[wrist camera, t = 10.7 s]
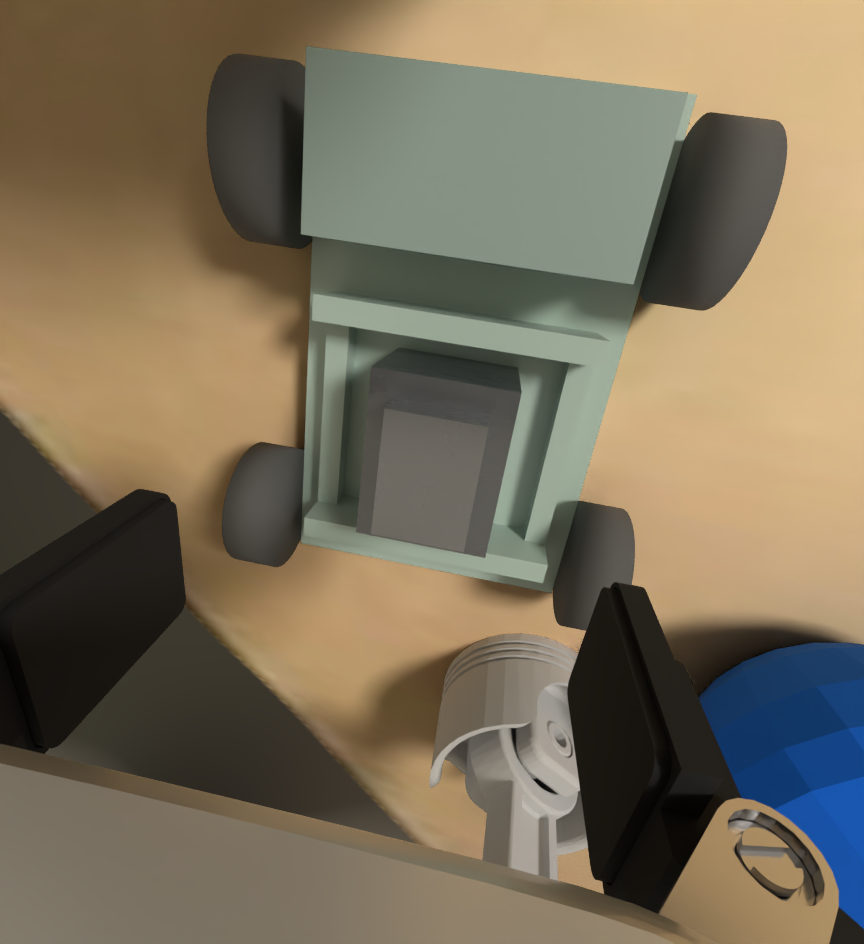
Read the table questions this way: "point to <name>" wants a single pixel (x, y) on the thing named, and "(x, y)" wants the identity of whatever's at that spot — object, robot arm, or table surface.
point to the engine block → (436, 449)
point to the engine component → (515, 748)
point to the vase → (801, 747)
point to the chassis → (476, 275)
